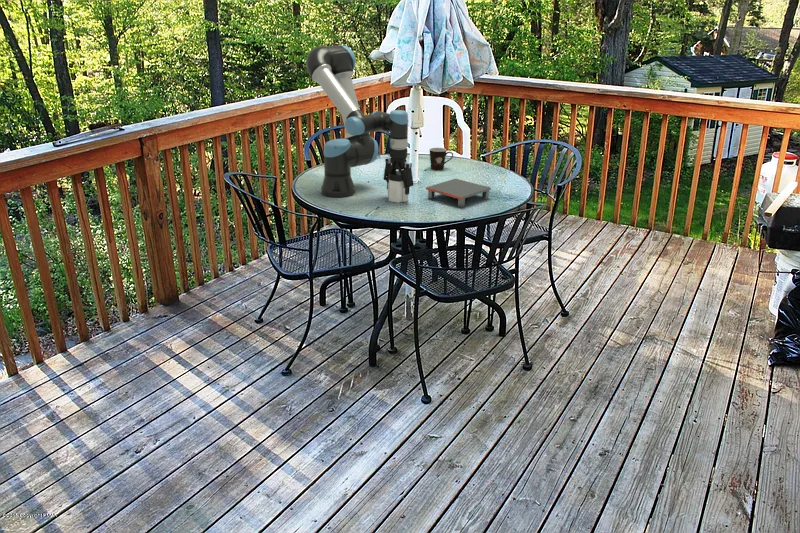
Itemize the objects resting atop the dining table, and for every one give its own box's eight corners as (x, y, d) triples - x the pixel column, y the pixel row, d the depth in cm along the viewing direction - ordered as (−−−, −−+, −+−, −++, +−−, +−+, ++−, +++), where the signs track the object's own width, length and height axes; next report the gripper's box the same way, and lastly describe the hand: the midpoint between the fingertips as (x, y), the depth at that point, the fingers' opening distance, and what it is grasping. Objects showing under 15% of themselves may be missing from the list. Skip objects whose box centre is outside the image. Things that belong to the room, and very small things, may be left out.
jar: (384, 200, 288) (384, 173, 283) (393, 195, 294) (393, 169, 290) (402, 203, 284) (402, 176, 279) (411, 199, 290) (411, 172, 286)
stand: (425, 198, 292) (425, 187, 290) (455, 189, 305) (455, 178, 303) (460, 208, 279) (461, 197, 277) (490, 198, 293) (490, 187, 291)
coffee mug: (427, 170, 335) (427, 150, 331) (431, 166, 343) (431, 147, 339) (449, 172, 332) (450, 152, 328) (453, 168, 340) (453, 148, 336)
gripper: (374, 145, 284) (375, 195, 293) (410, 153, 271) (409, 206, 280) (387, 142, 289) (386, 192, 298) (423, 150, 276) (421, 202, 285)
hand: (397, 198), depth 289 cm, fingers closed on jar, 8 cm apart
